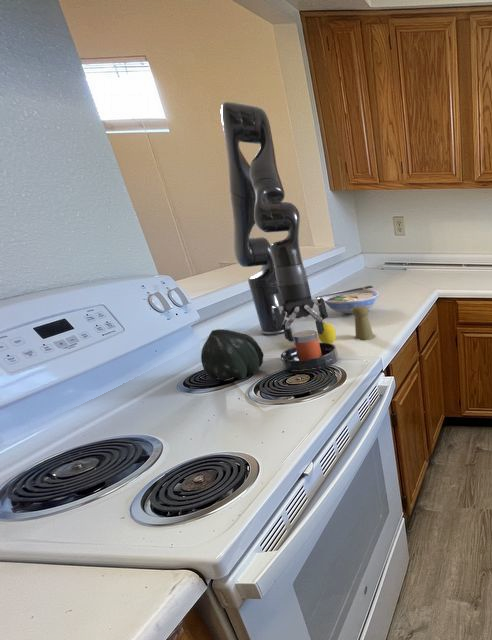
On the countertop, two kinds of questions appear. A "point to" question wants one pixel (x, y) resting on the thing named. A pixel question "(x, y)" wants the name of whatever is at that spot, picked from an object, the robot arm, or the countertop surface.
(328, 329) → the lemon
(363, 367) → the countertop surface
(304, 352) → the can
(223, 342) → the squash
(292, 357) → the pan
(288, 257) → the robot arm
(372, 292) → the ramen bowl
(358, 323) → the olive flared column
